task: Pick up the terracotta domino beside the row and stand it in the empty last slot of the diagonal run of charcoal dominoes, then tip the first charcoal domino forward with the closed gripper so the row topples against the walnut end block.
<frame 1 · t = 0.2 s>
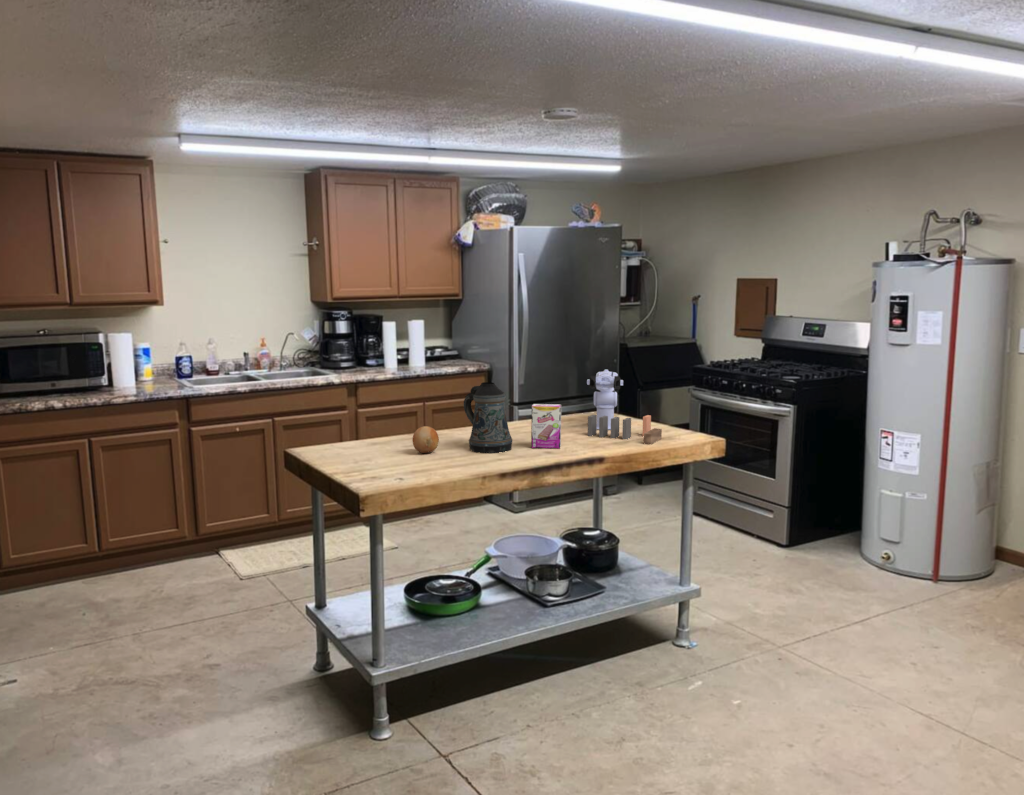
hand: (604, 384, 318), 21 cm above the table, tool horizontal, fingers open, 7 cm apart
domino 4: (626, 438, 319), on the table
beer stein: (486, 449, 303), on the table
end block: (652, 441, 314), on the table
candy bar box: (546, 448, 304), on the table
onion: (426, 453, 297), on the table
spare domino: (646, 435, 324), on the table
domino 3: (614, 437, 321), on the table
domino 2: (603, 436, 324), on the table
domino 1: (592, 435, 326), on the table
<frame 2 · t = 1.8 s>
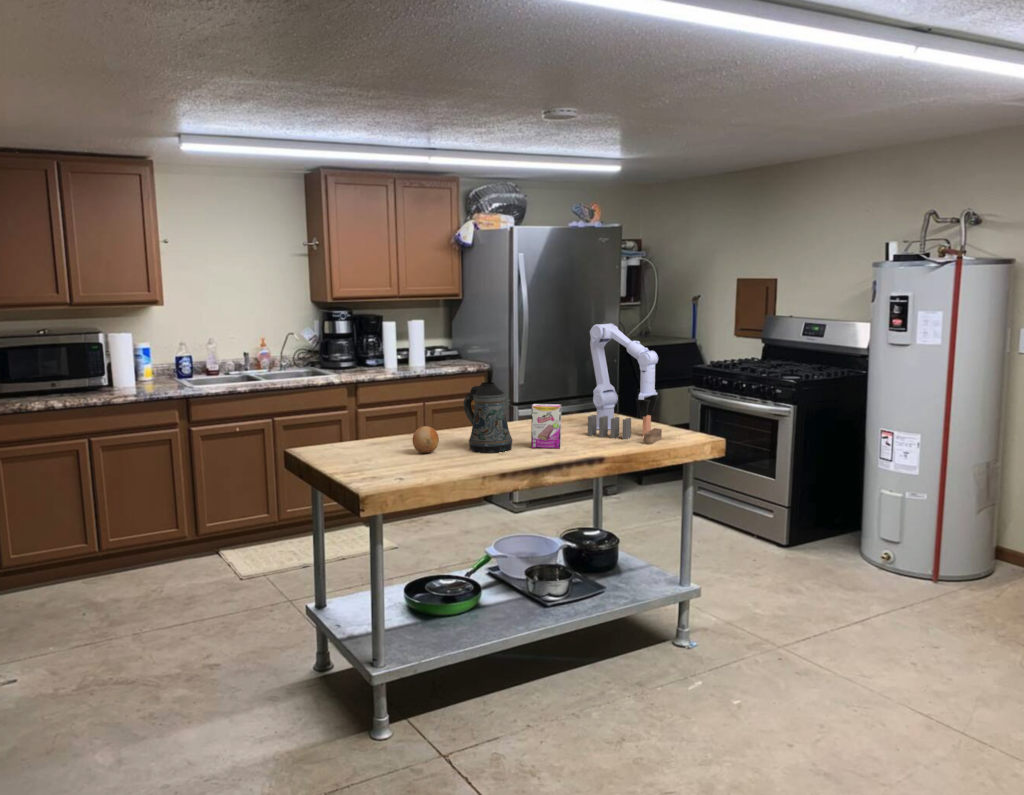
hand: (647, 414, 323), 9 cm above the table, tool pointing down, fingers open, 7 cm apart
nothing on the table moved.
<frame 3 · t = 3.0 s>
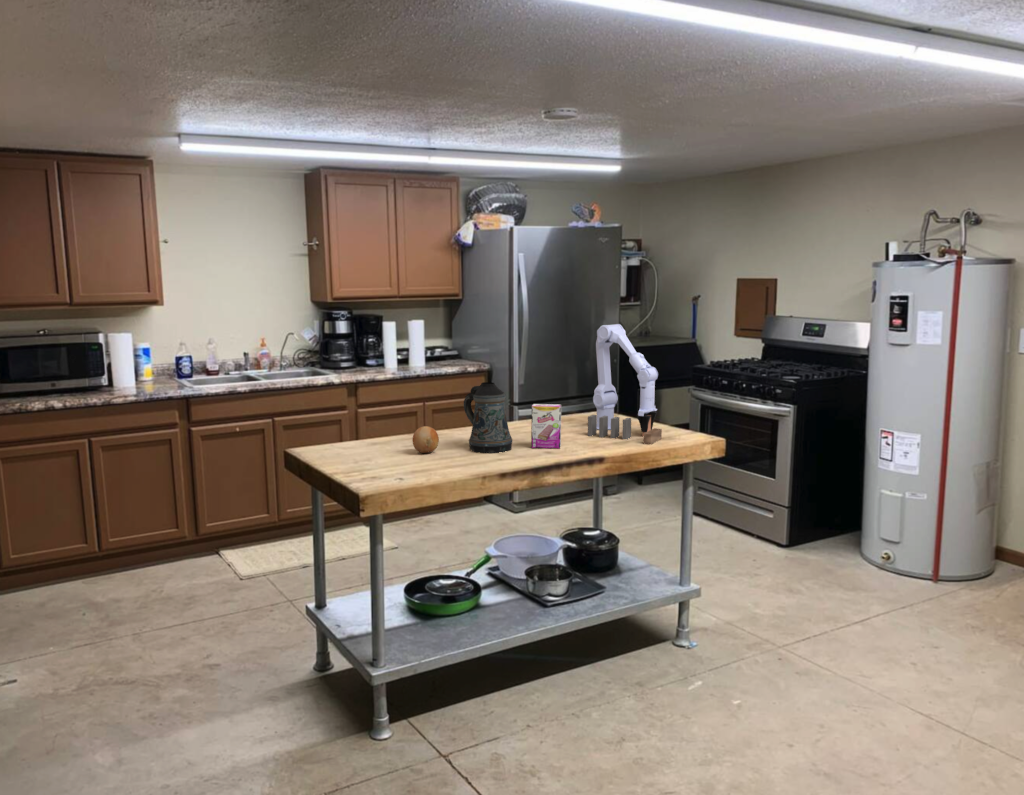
hand: (646, 430, 324), 2 cm above the table, tool pointing down, fingers closed on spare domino, 5 cm apart
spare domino: (646, 435, 324), on the table, touching gripper
everything else where it was.
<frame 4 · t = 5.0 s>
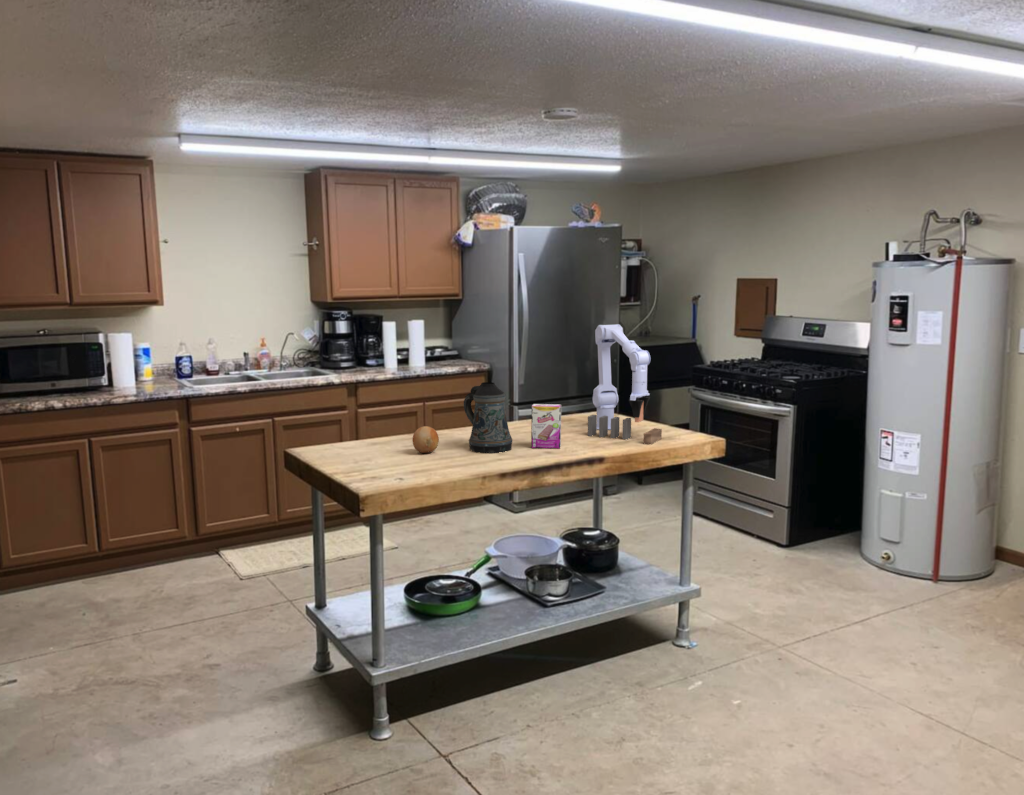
hand: (639, 416, 315), 10 cm above the table, tool pointing down, fingers closed on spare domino, 5 cm apart
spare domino: (639, 421, 315), point 8 cm above the table, touching gripper
everything else where it was.
when the fingers open (2 cm above the table, at t = 7.0 s): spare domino stays where it is, on the table.
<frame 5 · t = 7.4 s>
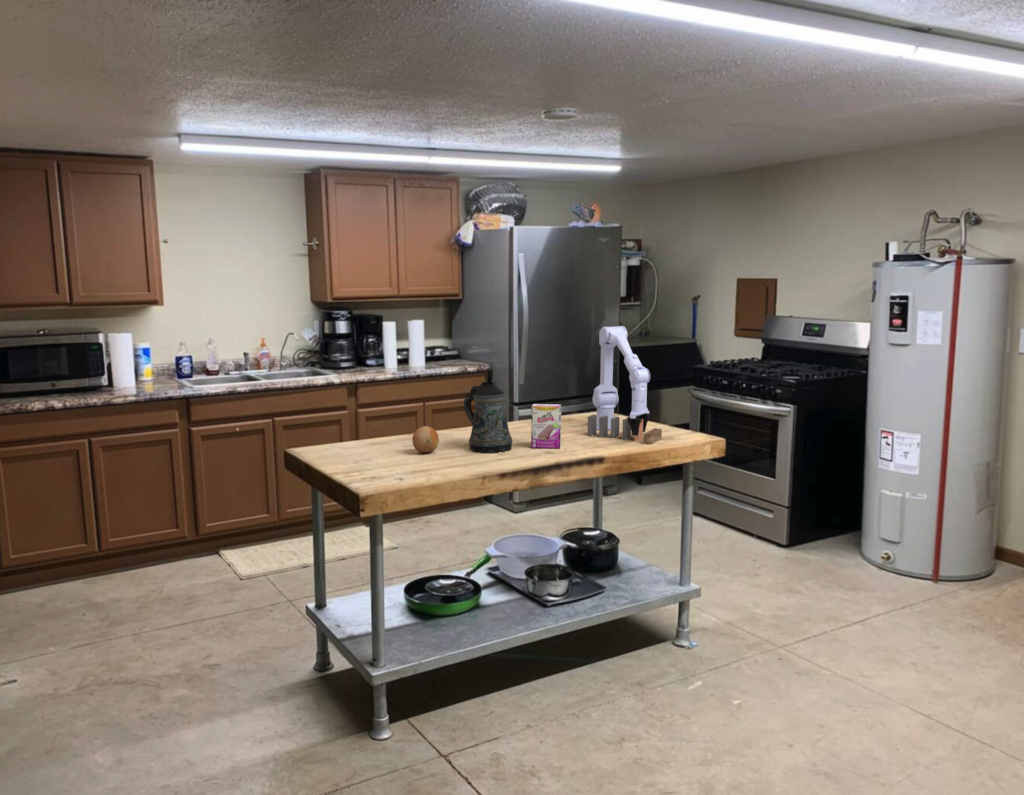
hand: (638, 433, 316), 3 cm above the table, tool pointing down, fingers open, 7 cm apart
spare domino: (638, 439, 316), on the table
everything else where it was.
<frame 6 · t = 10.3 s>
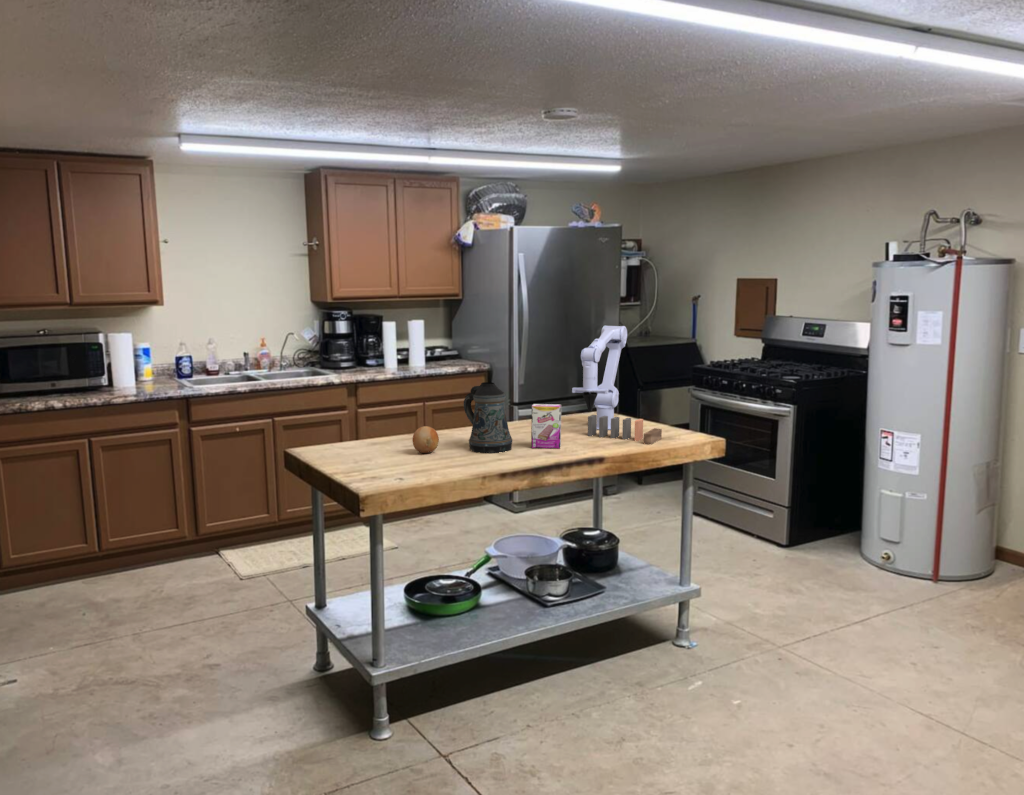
hand: (590, 410, 325), 10 cm above the table, tool pointing down, fingers closed
nothing on the table moved.
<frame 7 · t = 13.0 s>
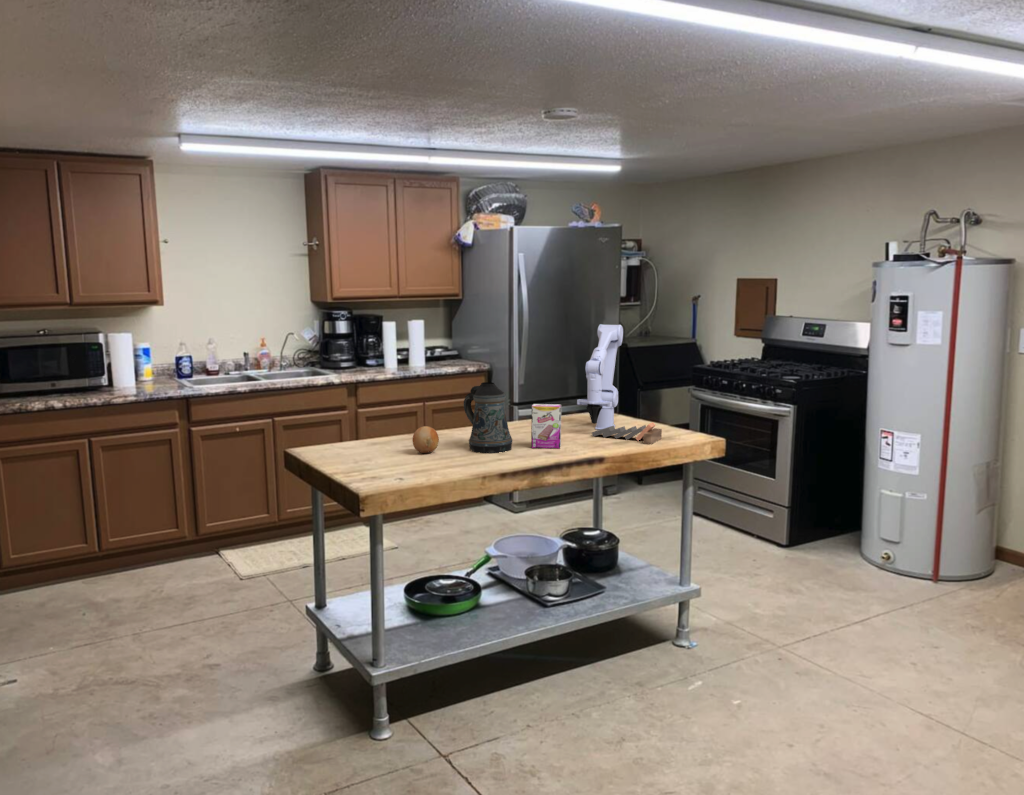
hand: (594, 423, 325), 5 cm above the table, tool pointing down, fingers closed
domino 4: (627, 437, 318), point 1 cm above the table, tilted 56°, touching domino 3, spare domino
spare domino: (639, 438, 316), point 1 cm above the table, tilted 41°, touching domino 4, end block
domino 3: (617, 436, 321), point 1 cm above the table, tilted 63°, touching domino 4
domino 2: (605, 434, 323), point 1 cm above the table, tilted 68°, touching domino 1
domino 1: (594, 433, 326), point 1 cm above the table, tilted 69°, touching domino 2
everything else where it was.
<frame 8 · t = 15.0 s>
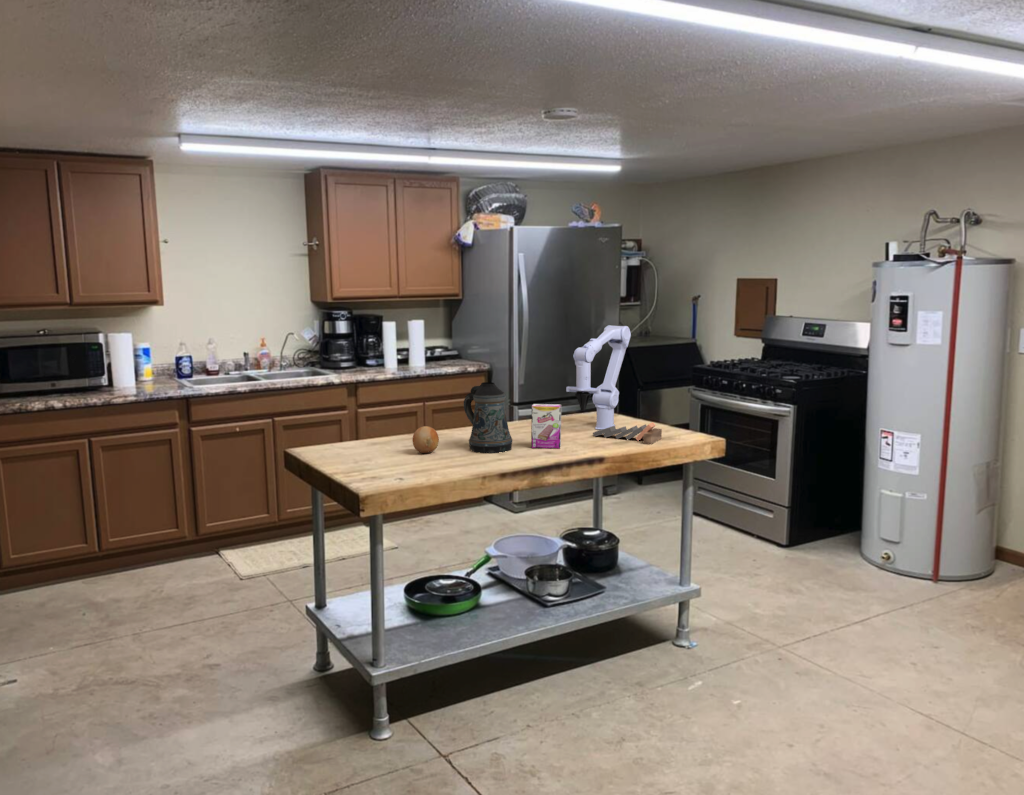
hand: (583, 410, 327), 10 cm above the table, tool pointing down, fingers closed
domino 4: (628, 437, 318), point 1 cm above the table, tilted 54°, touching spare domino
domino 3: (618, 436, 320), point 1 cm above the table, tilted 61°, touching domino 2
domino 2: (606, 434, 323), point 1 cm above the table, tilted 68°, touching domino 1, domino 3
at the end: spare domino inside the target area (0.2 cm from its centre), point 0.5 cm above the table; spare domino tilted 41°; domino 4 tilted 53° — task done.
